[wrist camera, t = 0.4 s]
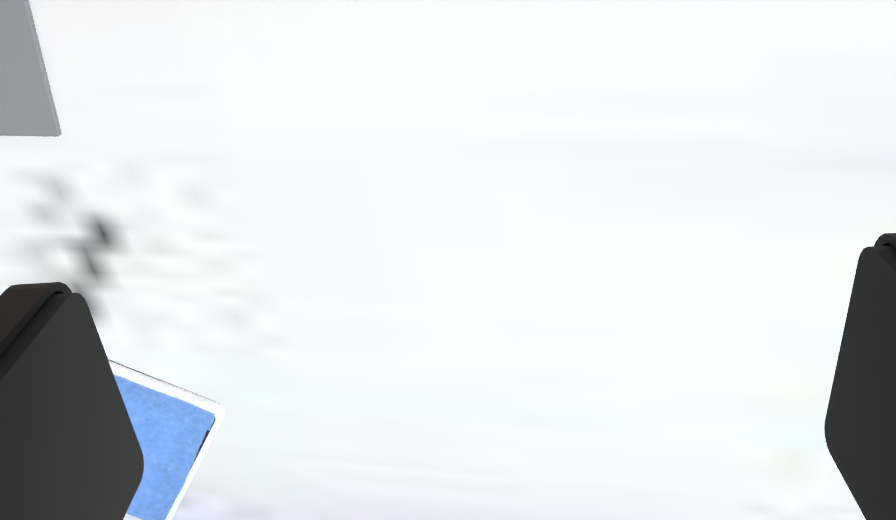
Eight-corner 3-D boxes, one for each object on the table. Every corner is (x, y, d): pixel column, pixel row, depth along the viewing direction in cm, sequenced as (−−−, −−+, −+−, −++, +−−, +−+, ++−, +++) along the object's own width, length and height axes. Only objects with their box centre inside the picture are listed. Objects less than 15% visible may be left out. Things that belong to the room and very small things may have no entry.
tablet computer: (231, 401, 51) (226, 414, 50) (171, 519, 57) (164, 534, 56) (-76, 277, 47) (-89, 289, 46) (-108, 419, 53) (-121, 432, 52)
